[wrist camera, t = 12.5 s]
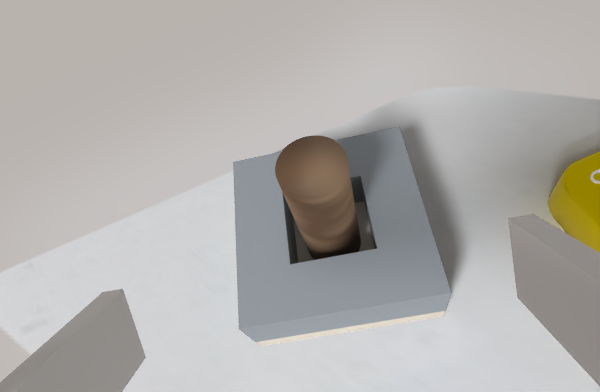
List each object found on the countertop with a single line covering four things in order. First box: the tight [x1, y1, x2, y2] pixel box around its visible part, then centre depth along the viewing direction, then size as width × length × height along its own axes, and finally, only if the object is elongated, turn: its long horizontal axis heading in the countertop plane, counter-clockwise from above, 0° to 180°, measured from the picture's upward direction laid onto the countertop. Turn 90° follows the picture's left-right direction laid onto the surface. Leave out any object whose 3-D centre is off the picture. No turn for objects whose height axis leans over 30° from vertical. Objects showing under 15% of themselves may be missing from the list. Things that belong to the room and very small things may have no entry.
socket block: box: [233, 127, 451, 346], centre depth 34 cm, size 14×14×6 cm
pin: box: [275, 136, 361, 260], centre depth 30 cm, size 4×4×11 cm
